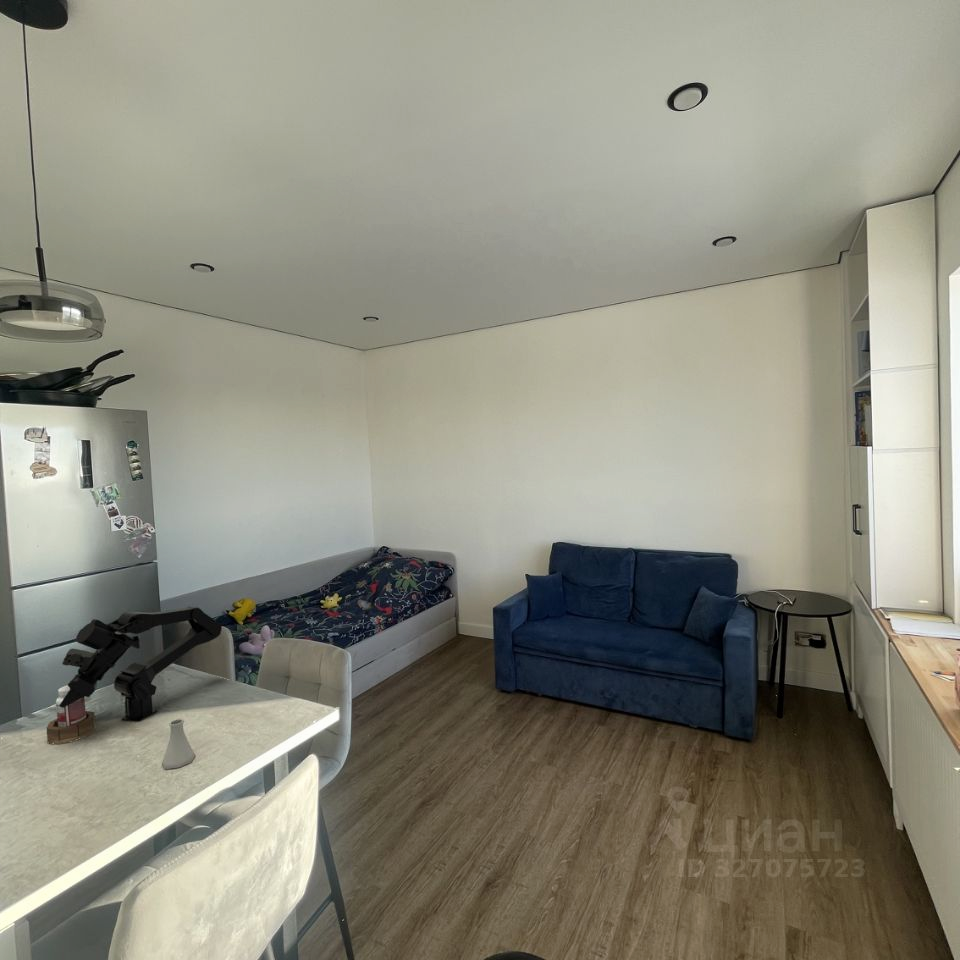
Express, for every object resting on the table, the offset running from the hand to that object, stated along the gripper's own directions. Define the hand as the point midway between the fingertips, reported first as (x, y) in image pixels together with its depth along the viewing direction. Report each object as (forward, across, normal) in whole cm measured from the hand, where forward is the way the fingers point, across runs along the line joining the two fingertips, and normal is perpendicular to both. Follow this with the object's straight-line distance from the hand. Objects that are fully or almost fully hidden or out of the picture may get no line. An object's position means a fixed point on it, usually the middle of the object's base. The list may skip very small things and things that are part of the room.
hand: (64, 701), depth 141 cm
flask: (-13, +31, +27) cm, 43 cm away
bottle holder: (+6, 0, +8) cm, 9 cm away
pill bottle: (+4, 0, +6) cm, 8 cm away
